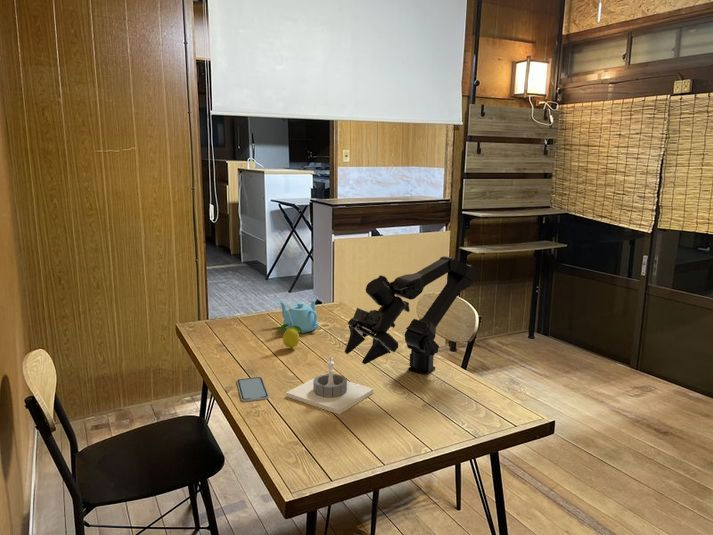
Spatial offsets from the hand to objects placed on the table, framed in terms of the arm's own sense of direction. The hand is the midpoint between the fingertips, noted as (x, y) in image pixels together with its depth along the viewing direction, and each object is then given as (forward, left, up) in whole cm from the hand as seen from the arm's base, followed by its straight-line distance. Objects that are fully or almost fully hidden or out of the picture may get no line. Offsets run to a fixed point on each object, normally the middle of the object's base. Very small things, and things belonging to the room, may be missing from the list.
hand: (354, 358), depth 149 cm
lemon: (+36, -14, -9) cm, 40 cm away
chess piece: (+3, +7, -8) cm, 11 cm away
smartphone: (+23, +17, -10) cm, 30 cm away
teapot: (+49, -33, -9) cm, 60 cm away
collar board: (+3, +7, -9) cm, 12 cm away
